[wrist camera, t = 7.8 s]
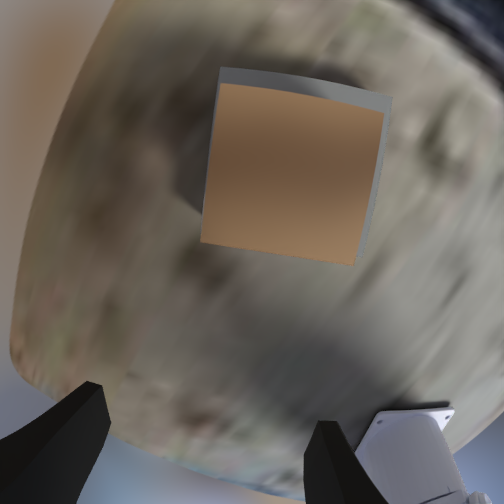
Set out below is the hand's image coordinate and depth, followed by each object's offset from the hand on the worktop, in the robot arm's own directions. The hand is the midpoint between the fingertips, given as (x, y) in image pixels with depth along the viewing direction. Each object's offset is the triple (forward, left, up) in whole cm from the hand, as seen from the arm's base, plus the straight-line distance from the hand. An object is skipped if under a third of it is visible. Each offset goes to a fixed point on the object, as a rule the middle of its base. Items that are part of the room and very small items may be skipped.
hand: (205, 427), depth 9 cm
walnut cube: (+8, -2, -8) cm, 11 cm away
